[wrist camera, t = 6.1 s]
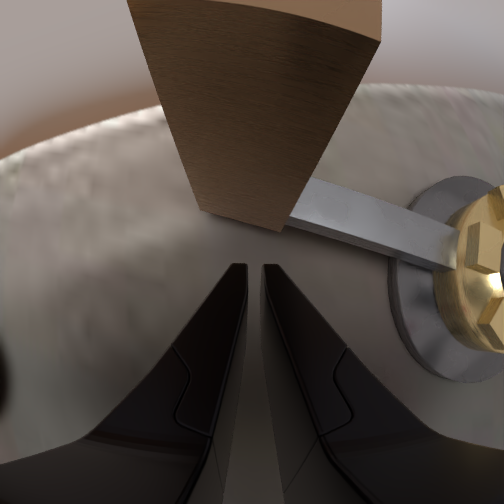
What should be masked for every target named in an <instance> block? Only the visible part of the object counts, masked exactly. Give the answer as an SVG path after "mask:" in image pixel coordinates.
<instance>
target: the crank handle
mask: <svg viewBox="0 0 504 504" xmlns="http://www.w3.org/2000/svg"><path fill="white" fill-rule="evenodd" d="M127 3H128V7H129V9H130V13H131V16H132V19H133V22H134V25H135V28H136V31H137V35H138V37H139V41H140V44H141V46H142V50H143V53H144V56H145V59H146V62H147V65H148V68H149V71H150V73H151V76H152V79H153V82H154V85H155V88H156V91H157V94H158V96H159V100H160V102H161V105H162V108H163V111H164V114H165V117H166V119H167V122H168V125H169V128H170V130H171V133H172V136H173V139H174V142H175V144H176V147H177V150H178V152H179V155H180V158H181V161H182V163H183V166H184V169H185V171H186V174H187V177H188V179H189V182H190V185H191V187H192V190H193V193H194V195H195V198H196V201H197V203H198V206H199V208H200V210H202V211H205V212H209V213H213V214H216V215H220V216H224V217H227V218H231V219H235V220H238V221H242V222H245V223H249V224H253V225H256V226H260V227H263V228H267V229H270V230H274V231H277V232H281V231H282V229H283V227H284V225H288V226H292V227H295V228H299V229H302V230H305V231H309V232H312V233H316V234H319V235H322V236H326V237H329V238H332V239H336V240H339V241H342V242H346V243H349V244H352V245H355V246H359V247H362V248H365V249H368V250H371V251H375V252H378V253H381V254H384V255H387V256H390V257H394V258H397V259H400V260H403V261H406V262H409V263H412V264H415V265H418V266H421V267H424V268H427V269H430V270H433V284H434V292H435V298H436V302H437V305H438V309H439V312H440V314H441V317H442V319H443V321H444V323H445V325H446V327H447V329H448V330H449V332H450V333H451V335H452V336H453V337H454V338H455V339H456V340H457V341H458V342H459V343H461V344H462V345H463V346H465V347H467V348H469V349H472V350H475V351H484V352H492V353H502V354H504V185H501V186H498V187H496V188H494V189H492V190H490V191H489V192H488V194H487V195H485V196H483V197H481V198H479V199H477V200H475V201H473V202H471V203H469V204H467V205H465V206H463V207H462V208H460V209H458V210H457V211H455V212H454V213H453V214H452V215H451V216H450V217H449V219H448V220H447V221H446V223H445V224H443V223H440V222H438V221H435V220H433V219H430V218H428V217H425V216H423V215H420V214H418V213H415V212H412V211H410V210H407V209H404V208H402V207H399V206H396V205H394V204H391V203H388V202H385V201H383V200H380V199H377V198H374V197H371V196H369V195H366V194H363V193H360V192H357V191H354V190H351V189H348V188H345V187H342V186H339V185H336V184H332V183H329V182H326V181H323V180H320V179H317V178H313V177H311V175H312V173H313V171H314V169H315V168H316V166H317V164H318V162H319V160H320V158H321V156H322V154H323V152H324V151H325V149H326V147H327V145H328V143H329V141H330V139H331V137H332V135H333V134H334V132H335V130H336V128H337V126H338V124H339V122H340V120H341V118H342V116H343V114H344V113H345V111H346V109H347V107H348V105H349V103H350V101H351V99H352V97H353V95H354V93H355V91H356V89H357V88H358V86H359V84H360V82H361V80H362V78H363V76H364V74H365V72H366V70H367V68H368V66H369V64H370V62H371V60H372V58H373V56H374V54H375V53H376V51H377V49H378V47H379V45H380V43H381V25H382V0H127Z"/></svg>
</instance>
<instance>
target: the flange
mask: <svg viewBox="0 0 504 504" xmlns="http://www.w3.org/2000/svg"><path fill="white" fill-rule="evenodd" d="M494 188H495V187H494V186H492V185H491V184H489V183H487V182H485V181H483V180H481V179H477V178H474V177H469V176H454V177H451V178H447V179H444V180H442V181H440V182H438V183H436V184H435V185H434V186H432V187H431V188H429V189H428V190H426V191H425V192H423V193H422V194H421V195H419V196H418V197H417V198H416V199H415V200H414V201H413V202H412V203H411V204H410V205H409V207H408V208H407V210H410V211H412V212H415V213H418V214H420V215H423V216H425V217H428V218H430V219H433V220H435V221H438V222H440V223H443V224H445V223H446V221H447V220H448V219H449V217H450V216H451V215H452V214H453V213H454V212H455V211H457V210H458V209H460V208H462V207H463V206H465V205H467V204H469V203H471V202H473V201H475V200H477V199H479V198H481V197H483V196H485V195H487V194H488V192H489V191H490V190H492V189H494ZM388 290H389V299H390V305H391V310H392V314H393V317H394V321H395V324H396V327H397V329H398V332H399V334H400V337H401V339H402V340H403V342H404V344H405V346H406V347H407V349H408V350H409V352H410V353H411V354H412V356H413V357H414V358H415V359H416V360H417V361H418V362H419V363H420V364H421V365H422V366H423V367H424V368H426V369H427V370H428V371H430V372H431V373H433V374H436V375H438V376H440V377H443V378H447V379H450V380H454V381H458V382H463V383H475V382H481V381H484V380H487V379H489V378H491V377H493V376H495V375H497V374H498V373H500V372H501V371H502V370H503V369H504V354H502V353H492V352H484V351H475V350H472V349H469V348H467V347H465V346H463V345H462V344H461V343H459V342H458V341H457V340H456V339H455V338H454V337H453V336H452V335H451V333H450V332H449V330H448V329H447V327H446V325H445V323H444V321H443V319H442V317H441V314H440V312H439V309H438V305H437V302H436V298H435V292H434V284H433V270H430V269H427V268H424V267H421V266H418V265H415V264H412V263H409V262H406V261H403V260H400V259H397V258H394V257H390V256H389V263H388Z"/></svg>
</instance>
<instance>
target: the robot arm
mask: <svg viewBox="0 0 504 504" xmlns="http://www.w3.org/2000/svg"><path fill="white" fill-rule="evenodd" d="M247 308H248V265H247V264H245V263H232V264H231V265H230V266H229V268H228V269H227V270H226V271H225V273H224V274H223V275H222V277H221V278H220V279H219V281H218V282H217V283H216V285H215V286H214V287H213V289H212V290H211V291H210V293H209V294H208V295H207V297H206V298H205V299H204V301H203V302H202V303H201V304H200V306H199V307H198V308H197V310H196V311H195V312H194V314H193V315H192V316H191V318H190V319H189V320H188V322H187V323H186V324H185V326H184V327H183V328H182V330H181V331H180V332H179V334H178V335H177V336H176V338H175V339H174V340H173V342H172V343H171V346H169V347H168V348H167V349H166V351H165V352H164V354H163V355H162V356H161V358H160V359H159V360H158V361H157V363H156V364H155V365H154V366H153V367H152V369H151V370H150V371H149V372H148V374H147V375H146V376H145V377H144V378H143V379H142V380H141V381H140V382H139V383H138V384H137V385H136V387H135V388H134V389H133V390H132V391H131V392H130V393H129V394H128V395H127V396H126V397H125V398H124V399H123V400H122V401H121V402H120V403H119V404H118V405H117V406H116V407H115V408H114V409H113V410H112V411H111V412H110V413H109V414H108V415H107V416H106V417H105V418H104V419H103V420H102V421H101V422H100V423H99V424H98V425H97V426H96V427H95V428H94V429H93V430H91V431H90V432H89V433H88V434H86V435H85V436H83V437H82V438H80V439H78V440H76V441H74V442H72V443H69V444H66V445H63V446H60V447H57V448H54V449H51V450H48V451H45V452H42V453H38V454H35V455H32V456H29V457H25V458H22V459H18V460H15V461H11V462H7V463H4V464H0V504H222V501H223V493H224V488H225V482H226V475H227V469H228V462H229V456H230V449H231V443H232V436H233V430H234V423H235V417H236V410H237V404H238V397H239V390H240V384H241V377H242V370H243V364H244V357H245V349H246V332H247ZM260 322H261V349H262V357H263V364H264V370H265V377H266V384H267V390H268V397H269V403H270V410H271V417H272V423H273V430H274V436H275V443H276V449H277V456H278V462H279V469H280V475H281V482H282V488H283V493H284V501H285V504H504V450H500V449H495V448H490V447H486V446H481V445H477V444H473V443H468V442H464V441H460V440H456V439H453V438H449V437H446V436H443V435H441V434H439V433H437V432H435V431H434V430H432V429H431V428H429V427H428V426H427V425H425V424H424V423H423V422H422V421H421V420H420V419H419V418H418V417H416V416H415V415H414V414H413V413H412V412H411V411H410V410H409V409H408V408H407V407H406V406H405V405H404V404H403V403H402V402H401V401H399V400H398V399H397V398H396V397H395V396H394V395H393V394H392V393H391V392H390V391H389V390H388V389H387V388H386V387H385V386H384V385H383V384H382V383H381V382H380V381H379V380H378V379H377V378H376V377H375V376H374V375H373V374H372V373H371V372H370V371H369V370H368V369H367V368H366V367H365V366H364V364H363V363H362V362H361V361H360V360H359V359H358V358H357V356H356V355H355V354H354V353H353V352H352V350H351V349H350V348H347V345H346V344H345V342H344V341H343V340H342V339H341V338H340V336H339V335H338V334H337V333H336V332H335V330H334V329H333V328H332V327H331V326H330V325H329V323H328V322H327V321H326V320H325V319H324V317H323V316H322V315H321V314H320V313H319V311H318V310H317V309H316V308H315V307H314V306H313V304H312V303H311V302H310V301H309V300H308V299H307V297H306V296H305V295H304V294H303V293H302V291H301V290H300V289H299V288H298V287H297V286H296V284H295V283H294V282H293V281H292V280H291V279H290V277H289V276H288V275H287V274H286V273H285V271H284V270H283V269H282V268H281V267H280V266H279V265H278V264H263V266H262V273H261V287H260Z"/></svg>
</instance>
